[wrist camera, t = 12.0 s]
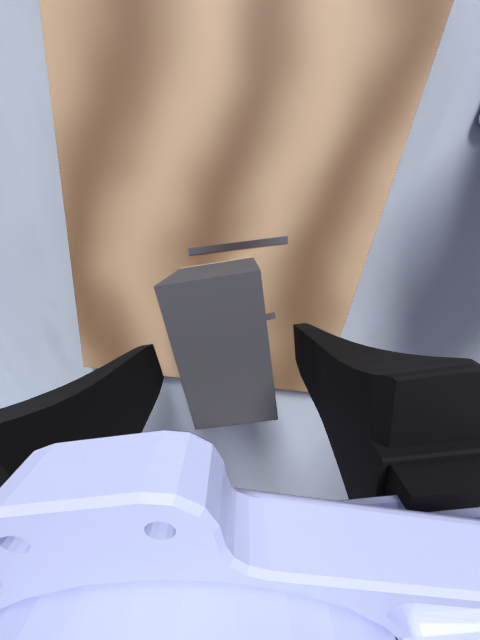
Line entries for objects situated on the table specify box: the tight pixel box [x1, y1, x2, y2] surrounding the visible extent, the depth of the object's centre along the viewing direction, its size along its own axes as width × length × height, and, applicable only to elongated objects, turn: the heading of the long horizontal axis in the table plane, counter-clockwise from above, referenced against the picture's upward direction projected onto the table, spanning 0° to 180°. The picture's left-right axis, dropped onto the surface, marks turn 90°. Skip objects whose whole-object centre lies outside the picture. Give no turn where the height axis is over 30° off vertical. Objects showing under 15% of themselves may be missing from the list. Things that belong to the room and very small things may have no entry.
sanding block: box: [153, 257, 278, 430], centre depth 13 cm, size 4×8×5 cm, turn 9°
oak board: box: [39, 0, 454, 392], centre depth 14 cm, size 18×22×1 cm
